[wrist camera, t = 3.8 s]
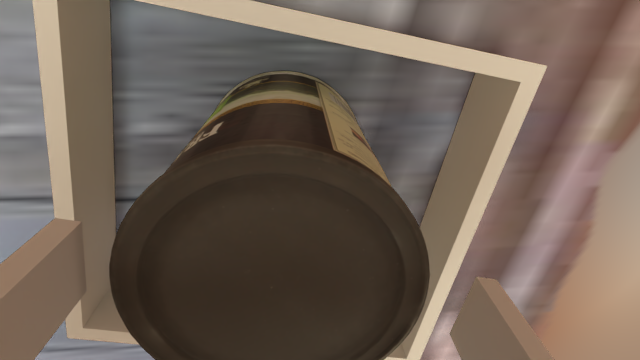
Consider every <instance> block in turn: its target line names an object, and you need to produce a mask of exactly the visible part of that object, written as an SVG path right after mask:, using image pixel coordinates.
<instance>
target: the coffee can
mask: <svg viewBox="0 0 640 360" xmlns="http://www.w3.org/2000/svg"><path fill="white" fill-rule="evenodd" d="M109 278H110V286H111V292H112V297H113V300H114V303H115V306H116V309H117V311H118V313H119V315H120V317H121V319H122V321H123V322H124V324H125V326H126V328H127V329H128V331H129V333H130V334H131V336H132V337H133V338H134V339H135V340H136V341H137V342H138V343H139V345H140V346H141V347H142V348H143V349H144V350H145V351H146V352H147V353H149V354H150V355H151V356H152V357H153V358H154V359H155V360H384V359H385V358H386V357H387V356H389V355H390V354H391V353H392V352H393V351H394V350H395V349H396V348H397V347H398V346H399V345H400V344H401V343H402V342H403V341H404V340H405V338H406V337H407V336H408V335H409V334H410V332H411V331H412V329H413V327H414V325H415V324H416V322H417V320H418V318H419V316H420V314H421V312H422V309H423V307H424V304H425V301H426V297H427V293H428V288H429V279H430V268H429V257H428V251H427V247H426V243H425V240H424V237H423V234H422V232H421V230H420V228H419V226H418V224H417V221H416V219H415V218H414V216H413V215H412V213H411V212H410V210H409V209H408V207H407V206H406V204H405V203H404V201H403V200H402V199H401V197H400V196H399V195H398V194H397V192H396V191H395V190H394V189H393V188H392V186H391V184H390V183H389V181H388V179H387V177H386V175H385V173H384V171H383V169H382V167H381V165H380V164H379V162H378V160H377V158H376V156H375V154H374V153H373V151H372V150H371V148H370V146H369V144H368V142H367V141H366V139H365V137H364V135H363V133H362V131H361V129H360V127H359V126H358V123H357V121H356V118H355V116H354V114H353V112H352V110H351V109H350V107H349V105H348V104H347V102H346V101H345V100H344V99H343V98H342V97H341V96H340V95H339V94H338V93H337V92H336V91H335V90H334V89H333V88H332V87H330V86H329V85H327V84H326V83H324V82H322V81H321V80H319V79H318V78H315V77H313V76H309V75H306V74H303V73H299V72H292V71H274V72H267V73H263V74H259V75H255V76H253V77H250V78H248V79H246V80H245V81H243V82H241V83H240V84H238V85H237V86H235V87H234V88H233V89H232V90H231V91H229V92H228V93H227V95H226V96H225V97H224V98H223V99H222V100H221V102H220V103H219V105H218V106H217V108H216V110H215V111H214V113H213V114H212V115H211V117H210V118H209V119H208V120H207V121H206V123H205V124H204V125H203V126H202V128H201V129H200V130H199V131H198V133H197V134H196V135H195V136H194V138H193V139H192V140H191V141H190V142H189V144H188V145H187V146H186V147H185V148H184V150H183V151H182V152H181V153H180V154H179V156H178V157H177V158H176V160H175V161H174V162H173V163H172V164H171V166H170V167H169V168H168V169H167V171H166V172H165V173H164V174H163V175H162V176H160V177H159V178H158V179H157V180H156V181H154V182H153V183H152V184H151V185H150V186H149V187H148V188H147V189H146V190H145V191H144V192H143V193H142V194H141V195H140V196H139V197H138V199H137V200H136V201H135V202H134V204H133V205H132V206H131V208H130V209H129V211H128V213H127V214H126V216H125V218H124V219H123V221H122V222H121V224H120V227H119V229H118V232H117V234H116V237H115V240H114V243H113V246H112V250H111V258H110V263H109Z"/></svg>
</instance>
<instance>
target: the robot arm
mask: <svg viewBox="0 0 640 360" xmlns="http://www.w3.org/2000/svg"><path fill="white" fill-rule="evenodd" d="M86 291H87V285H86V271H85V258H84V244H83V230H82V222H81V221H73V220H66V219H59V218H55V219H54V220H52V221H51V222H50V223H49V224H48V225H46V226H45V227H44V228H43V229H42V230H40V231H39V232H38V233H37V234H36V235H34V236H33V237H32V238H31V239H30V240H28V241H27V242H26V243H25V244H24V245H23V246H21V247H20V248H19V249H18V250H17V251H15V252H14V253H13V254H12V255H11V256H9V257H8V258H7V259H6V260H5V261H3V262H2V263H1V264H0V360H34V359H35V358H36V356H37V355H38V354H39V352H40V351H41V350H42V349H43V347H44V346H45V345H46V343H47V342H48V341H49V339H50V338H51V337H52V336H53V334H54V333H55V332H56V330H57V329H58V328H59V326H60V325H61V324H62V323H63V321H64V320H65V319H66V317H67V316H68V315H69V313H70V312H71V311H72V310H73V308H74V307H75V306H76V304H77V303H78V302H79V300H80V299H81V298H82V297H83V295H84V294H85V293H86ZM450 335H451V338H452V340H453V342H454V344H455V346H456V348H457V351H458V353H459V355H460V357H461V359H462V360H554V358H553V357H552V356H551V354H550V353H549V351H548V350H547V349H546V347H545V346H544V345H543V343H542V342H541V340H540V339H539V338H538V336H537V335H536V334H535V332H534V331H533V329H532V328H531V327H530V325H529V324H528V323H527V321H526V320H525V318H524V317H523V316H522V314H521V313H520V312H519V310H518V309H517V307H516V306H515V305H514V303H513V302H512V300H511V299H510V298H509V296H508V295H507V294H506V292H505V291H504V289H503V288H502V287H501V285H500V284H499V283H498V281H497V280H496V279H489V278H482V277H476V278H475V280H474V283H473V285H472V287H471V289H470V291H469V293H468V295H467V298H466V300H465V302H464V304H463V306H462V308H461V310H460V313H459V315H458V317H457V319H456V321H455V323H454V325H453V328H452V330H451V332H450Z"/></svg>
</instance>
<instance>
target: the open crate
mask: <svg viewBox="0 0 640 360" xmlns="http://www.w3.org/2000/svg"><path fill="white" fill-rule="evenodd" d="M136 1H141V2H146V3H151V4H155V5H160V6H165V7H169V8H174V9H179V10H184V11H188V12H193V13H198V14H202V15H207V16H212V17H216V18H221V19H226V20H231V21H235V22H240V23H245V24H249V25H254V26H259V27H264V28H268V29H273V30H278V31H282V32H287V33H292V34H297V35H301V36H306V37H311V38H315V39H320V40H325V41H329V42H334V43H339V44H344V45H348V46H353V47H358V48H362V49H367V50H372V51H377V52H381V53H386V54H391V55H395V56H400V57H405V58H410V59H414V60H419V61H424V62H428V63H433V64H438V65H442V66H447V67H452V68H457V69H461V70H466V71H471V72H475V75H474V78H473V81H472V84H471V86H470V89H469V92H468V95H467V97H466V100H465V103H464V106H463V109H462V111H461V114H460V117H459V120H458V122H457V125H456V128H455V131H454V133H453V136H452V139H451V142H450V145H449V147H448V150H447V153H446V156H445V158H444V161H443V164H442V167H441V169H440V172H439V175H438V178H437V181H436V183H435V186H434V189H433V192H432V194H431V197H430V200H429V203H428V206H427V208H426V211H425V214H424V217H423V219H422V222H421V225H420V230H421V232H422V234H423V237H424V240H425V243H426V247H427V251H428V257H429V268H430V279H429V288H428V293H427V297H426V301H425V304H424V307H423V309H422V312H421V314H420V316H419V318H418V320H417V322H416V324H415V325H414V327H413V329H412V331H411V332H410V334H409V335H408V336H407V337H406V338H405V340H404V341H403V342H402V343H401V344H400V345H399V346H398V347H397V348H396V349H395V350H394V351H393V352H392V353H391V354H390V355H389V356H387V357H386V358H385V359H384V360H420V358H421V356H422V353H423V351H424V349H425V346H426V344H427V342H428V339H429V337H430V335H431V333H432V330H433V328H434V326H435V323H436V321H437V319H438V316H439V314H440V312H441V310H442V307H443V305H444V303H445V300H446V298H447V296H448V293H449V291H450V289H451V287H452V284H453V282H454V280H455V277H456V275H457V273H458V270H459V268H460V266H461V264H462V261H463V259H464V257H465V254H466V252H467V250H468V247H469V245H470V243H471V240H472V238H473V236H474V234H475V231H476V229H477V227H478V224H479V222H480V220H481V217H482V215H483V213H484V211H485V208H486V206H487V204H488V201H489V199H490V197H491V194H492V192H493V190H494V188H495V185H496V183H497V181H498V178H499V176H500V174H501V171H502V169H503V167H504V165H505V162H506V160H507V158H508V155H509V153H510V151H511V148H512V146H513V144H514V142H515V139H516V137H517V135H518V132H519V130H520V128H521V125H522V123H523V121H524V118H525V116H526V114H527V112H528V109H529V107H530V105H531V102H532V100H533V98H534V95H535V93H536V91H537V89H538V86H539V84H540V82H541V79H542V77H543V75H544V72H545V70H546V68H547V66H545V65H540V64H536V63H531V62H527V61H522V60H518V59H513V58H509V57H504V56H500V55H495V54H491V53H486V52H482V51H477V50H473V49H468V48H464V47H459V46H455V45H450V44H446V43H441V42H437V41H432V40H427V39H423V38H418V37H414V36H409V35H405V34H400V33H396V32H391V31H387V30H382V29H378V28H373V27H369V26H364V25H360V24H355V23H351V22H346V21H342V20H337V19H333V18H328V17H324V16H319V15H315V14H310V13H306V12H301V11H296V10H292V9H287V8H283V7H278V6H274V5H269V4H265V3H260V2H256V1H251V0H136ZM33 10H34V20H35V30H36V39H37V49H38V59H39V68H40V78H41V88H42V97H43V107H44V117H45V127H46V136H47V146H48V156H49V165H50V175H51V185H52V194H53V204H54V214H55V218H59V219H66V220H73V221H81V222H82V230H83V244H84V258H85V271H86V285H87V291H86V293H85V294H84V295H83V297H82V298H81V299H80V300H79V302H78V303H77V304H76V306H75V307H74V308H73V310H72V311H71V312H70V313H69V315H68V316H67V317H66V319H65V321H66V330H67V338H73V339H84V340H95V341H106V342H117V343H128V344H139V343H138V342H137V341H136V340H135V339H134V338H133V337H132V336H131V334H130V333H129V331H128V329H127V328H126V326H125V324H124V322H123V321H122V319H121V317H120V315H119V313H118V311H117V309H116V306H115V303H114V300H113V297H112V292H111V286H110V278H109V263H110V258H111V250H112V246H113V243H114V240H115V237H116V215H115V178H114V140H113V102H112V65H111V27H110V0H33Z"/></svg>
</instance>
